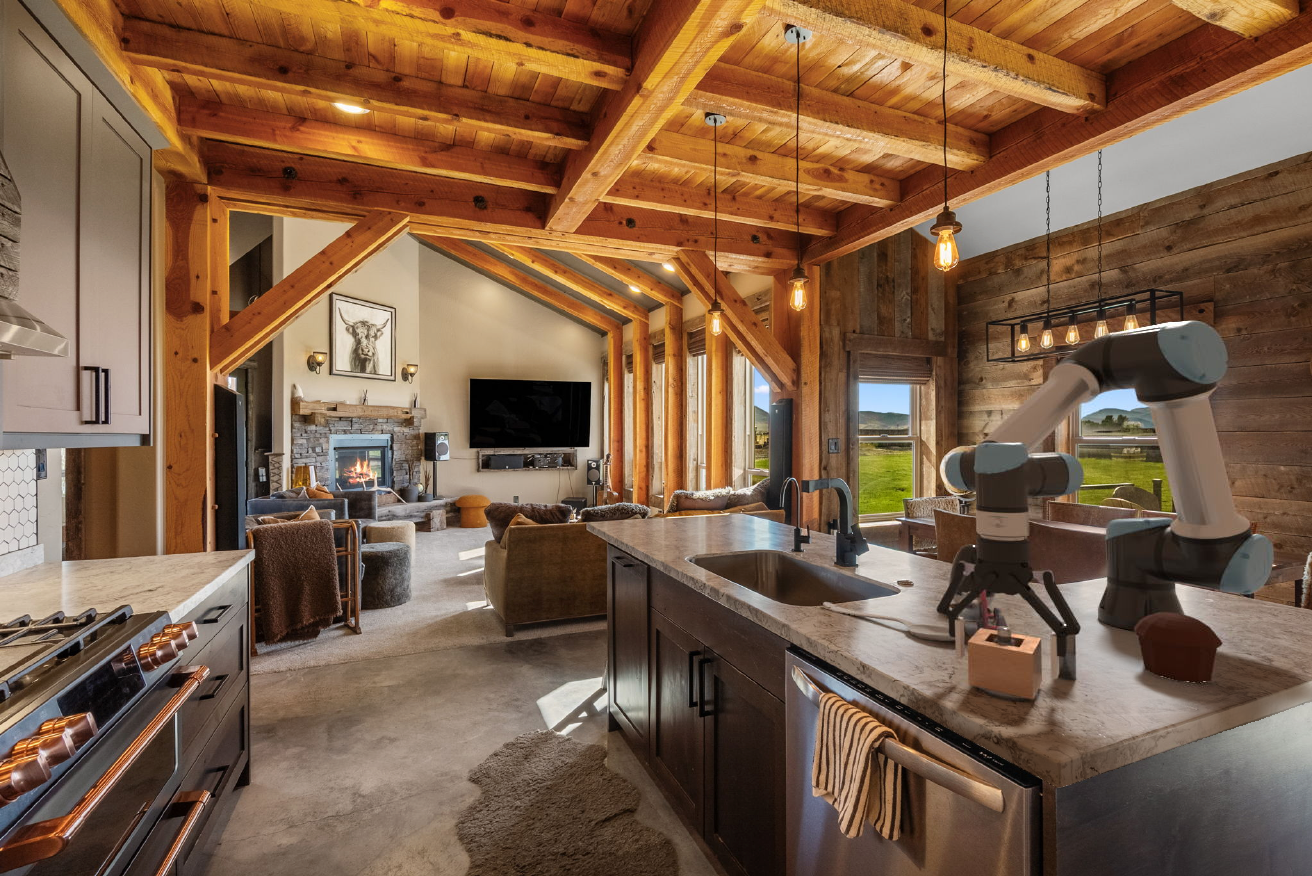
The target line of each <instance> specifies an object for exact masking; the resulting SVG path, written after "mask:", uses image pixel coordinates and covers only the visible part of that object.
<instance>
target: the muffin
mask: <svg viewBox="0 0 1312 876" xmlns="http://www.w3.org/2000/svg"><path fill="white" fill-rule="evenodd" d="M1133 631H1134V632H1135V634H1136V636H1137V638H1138V644H1139V647H1140V653H1141V656H1142V657H1141V658H1142V663H1143V667H1144V670H1145V671H1147V672H1150V673H1152V675H1155V676H1156V675H1157V676H1156V677H1160V676H1163V677H1162V678H1164V677H1166V678H1165V679H1168V678H1170V679H1169V680H1171V679H1173V680H1172V681H1175V680H1177V681H1176V682H1181V681H1189V682H1188V683H1191V682H1195V683H1194V684H1201V683H1200V682H1203V681H1212V677H1213V671H1214V668H1215V667H1214V665H1215V661H1216V655H1217V649H1218V648H1220V647H1221V646H1223V645H1224V644H1223V642H1222V640H1221V638H1220V637H1219V636H1218V634H1216V632H1215V631H1214V630H1213V629H1212V628H1211V627H1210V626H1209V625H1207V624H1206V623H1204V622H1203V621H1201V620H1199V619H1197V618H1195V617H1193V616H1190V615H1186V614H1185V615H1183V614H1178V613H1171V612H1158V613H1155V614H1152V615H1148V616H1146V617H1144V618H1142V619H1141V620H1140V621H1139V622H1138V623H1137V624H1136V626H1135V627H1134V630H1133ZM1203 683H1204V682H1203Z"/></svg>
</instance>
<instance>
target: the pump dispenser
mask: <svg viewBox="0 0 1312 876" xmlns="http://www.w3.org/2000/svg"><path fill="white" fill-rule="evenodd" d="M962 560H964V561H966V562H967V563H970V564H975V565H976V563H977V544H972V543H971V544H964V545H962V546H961V547H960V549H959V550H958V551H957V553H956V554H955V557H954V558H953V562H952V564H951V568H950V572H949V578H948V586H949V585H950V583H951V582H952V580H953V578H954V576H955V572H956V564H957V563H958V562H960V561H962ZM980 582H981V580H980V579H979V577H978V576H977V575H976V574H975V572H974V571H971V573H970V574H969V575H968V576H965V578H964V580H963V582H962V584H961V585H960V587H959V589H958V591H957V593H956V594H955V596H954V598H953V600H952V601H954V603H955V604H956V605H957V604H958V602H959V601H960V600H961V597H962V592H964V593H968V592H971V591H972V590H973V589H974V588H975V587H976V586H977V585H978V584H979V583H980ZM985 590H986V600H987V608H988V607H990V606H991V604H992V603H993V601H994V598H995V596H996V594H997V593H992V592H991V591H989V590H988V589H987V588H986V589H985ZM974 600H979V596H978V597H977V598H976V599H974Z"/></svg>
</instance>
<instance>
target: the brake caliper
mask: <svg viewBox="0 0 1312 876" xmlns="http://www.w3.org/2000/svg"><path fill="white" fill-rule="evenodd" d="M969 593H970V592H968V593H964V592H962V597H961V600H960V601H962V600H963V599H964V598H965V597H966V596H967V595H968V594H969ZM960 601H959V602H960ZM959 602H958V603H959ZM958 617H964V631H965V632H966V633H967V634H968V635H969V636H970V638H972V637H973V636H974V634H975V633H976V632H977V631H978V630H979V629H980V628H983V629H989V630H995V631H997V627H999V626H1004V627H1009V625H1008V624H1007V621H1006V618H1005V615H1004V614H1003V613H1002V610H1001V609H1000V607H998V606H996V607H995V606H994V607H993V611H992V614H989V613H988V607H987V600H986V590H984V591H983V592H982V593H981V594H980V595H979V600H973V601H972V602H971V603H970V604H969V605H968V606H967V607H966V608H965V609H964V610H963V611H962V612H961V613H960V614H959V615H958Z"/></svg>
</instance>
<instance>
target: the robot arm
mask: <svg viewBox="0 0 1312 876" xmlns="http://www.w3.org/2000/svg"><path fill="white" fill-rule="evenodd" d="M1228 357H1229V356H1228V352H1227V348H1226V345H1225V342H1224V341H1223V338H1222V337H1221V336H1220V334H1219V333H1218V332H1217V331H1216V330H1215V328H1214V327H1213V326H1210V325H1209V324H1207V323H1205V322H1203V321H1198V320H1187V321H1186V320H1185V321H1177V322H1176V321H1175V322H1173V321H1171V322H1170V321H1169V322H1165V323H1161V324H1157V325H1155V324H1154V325H1149V326H1145V327H1139V328H1134V329H1129V330H1128V329H1127V330H1124V331H1122V330H1121V331H1116V332H1115V331H1114V332H1110V333H1107V334H1104V335H1101V336H1099V337H1096V338H1094V339H1091V340H1090V341H1089V342H1087V343H1085V344H1083V345H1081V346H1080V347H1079V348H1076V349H1075V350H1074V351H1072V352H1071V353H1070V354H1068V355H1067V356H1065V357H1064V359H1062V360H1061V361H1060V362H1058V363H1057V364H1056V365H1055V366H1054V367H1053V368H1052V369H1051V370H1050V371H1049V373H1048V377H1047V381H1045V382H1044V383H1043V384H1042V385H1041V386H1040V387H1039V388H1038V389H1036V391H1035V392H1033V393H1032V394H1031V395H1030V396H1029V397H1028V398H1027V399H1026V400H1025V401H1024V402H1023V403H1022V404H1021V405H1020V406H1018V407H1017V408H1016V409H1015V410H1014V411H1013V412H1012V413H1011V414H1010V415H1009V416H1007V418H1006V419H1005V420H1003V421H1002V422H1001V423H1000V424H999V425H998V426H997V427H996V428H994V429H993V431H992V432H990V433H989V435H988V436H986V437H985V438H984V439H983V440H982V441H980V442H979V444H977V445H976V446H975V447H974V448H973V449H972V450H970V451H968V450H963V451H958V452H954V453H952V454H950V456H949V457H948V458H947V460H946V463H945V465H944V475H945V478H946V480H947V482H948V483H949V485H950V486H951V487H953V488H954V489H957V490H961V491H969V492H971V493H972V492H973V493H974V492H975V507H976V508H975V519H976V520H975V523H976V528H975V529H976V533H977V534H979V535H978V537H976V546H977V563H976V565H975V564H970V563H967V562H966V561H964V560H962V561H960V562H958V563H957V564H956V572H955V576H954V578H953V580H952V582H951V583H950V585H949V584H948V587H947V589H946V591H945V593H944V595H943V596H942V598H941V600H940V601H939V603H938V605H937V607H936V612H937V613H938V614H942V615H945V616H946V618H947V619H948V628H949V635H950V637H955V640H954V641H955V659H957V660H962V659H963V658H964V656H965V635H964V632H965V629H964V617H958V615H959V614H960V613H961V612H962V611H963V610H964V609H965V608H966V607H967V606H968V605H969V604H970V603H971V602H972V601H973V600H974V599H976V598H977V597H978V596H979V595H980V594H981V593H982V592H983V591H984V590H985V589H986V588H987V589H988V590H989V591H991V592H992V593H996V594H1004V595H1007V596H1011V597H1012V596H1013V597H1014V596H1017V595H1019V596H1020V597H1021V598H1022V599H1023V600H1024V601H1026V602H1027V603H1028V604H1029V605H1030V607H1031V608H1032V609H1033V610H1034V611H1035V612H1036V613H1037V614H1038V616H1039V617H1040V618H1041V619H1042V621H1044V622H1045V623H1046V625H1047V626H1048V627H1049V628H1050V629H1051V631H1052V632H1051V634H1050V635H1049V637H1050V638H1049V639H1050V640H1049V641H1050V644H1049V645H1050V646H1049V647H1050V678H1051V679H1054V680H1058V678H1059V677H1058V675H1059V656H1060V657H1065V655H1066V653H1067V636H1068V635H1075V636H1077V635H1079V634H1080V632H1081V628H1082V627H1081V625H1080V623H1079V621H1078V619H1077V618H1076V616H1075V614H1074V612H1073V611H1072V609H1071V608H1070V606H1069V604H1068V602H1067V601H1066V599H1065V597H1064V595H1063V594H1062V592H1061V590H1060V589H1059V587H1058V585H1057V584H1056V578H1055V571H1053V569H1050V568H1047V569H1045V570H1033V568H1032V566H1031V551H1030V550H1031V549H1030V545H1031V544H1030V540H1029V539H1028V538H1026V537H1028V536H1030V511H1029V499H1037V498H1051V497H1052V498H1053V497H1054V498H1060V497H1062V496H1063V497H1064V496H1068V495H1072V494H1074V493H1075V492H1076V491H1078V490H1079V489H1080V488H1081V487H1082V484H1083V482H1084V479H1085V478H1084V476H1085V474H1084V472H1085V471H1084V468H1083V465H1082V464H1081V462H1080V461H1079V460H1078V458H1076V457H1075V456H1073V455H1072V454H1070V453H1066V452H1058V451H1054V452H1053V451H1049V452H1033V451H1034V450H1035V449H1036V448H1037V447H1038V446H1039V445H1040V444H1041V443H1042V442H1044V441H1045V439H1046V438H1048V436H1049V435H1050V434H1052V433H1053V432H1054V431H1055V430H1056V429H1057V428H1058V427H1059V426H1060V425H1061V424H1062V423H1063V422H1064V421H1065V420H1066V419H1067V418H1068V417H1069V416H1070V415H1071V414H1072V413H1073V412H1074V411H1076V409H1078V407H1079V406H1080V405H1082V404H1088V403H1089V402H1092V401H1093V400H1095V399H1096V398H1097V397H1098V396H1099V395H1101V394H1104V393H1106V392H1111V391H1117V390H1131V389H1132V390H1133V389H1134V392H1135V395H1136V400H1137V402H1139V403H1140V404H1143V405H1144V406H1147V407H1148V408H1149V411H1150V414H1151V415H1150V416H1151V418H1152V423H1153V427H1154V430H1155V435H1156V438H1157V442H1158V447H1159V450H1160V454H1161V459H1162V461H1163V466H1164V470H1165V473H1166V477H1167V482H1168V485H1169V491H1170V493H1171V498H1172V500H1173V504H1174V509H1175V513H1176V516H1177V517H1176V518H1175V519H1173V518H1171V517H1133V518H1132V517H1131V518H1118V519H1113V520H1110V521H1109V522H1107V524H1106V527H1105V529H1106V530H1105V537H1104V540H1105V555H1106V558H1105V559H1106V586H1105V589H1104V591H1103V594H1102V597H1101V600H1100V602H1099V604H1098V607H1097V618H1098V620H1099V621H1101V622H1103V623H1104V624H1108V625H1110V626H1113V627H1116V628H1121V629H1124V630H1130V631H1134V627H1135V626H1136V624H1137V623H1138V622H1139V621H1140V620H1141V619H1142V618H1144V617H1146V616H1148V615H1152V614H1155V613H1158V612H1171V613H1178V614H1183V615H1186V614H1185V611H1184V609H1183V607H1182V604H1181V602H1180V600H1179V598H1178V595H1177V592H1176V583H1177V584H1181V585H1182V584H1183V585H1188V586H1194V587H1198V588H1206V589H1211V590H1215V591H1220V592H1222V593H1233V594H1239V595H1251V594H1254V593H1256V592H1258V591H1259V590H1261V589H1262V588H1263V587H1264V585H1265V584H1266V583H1267V581H1268V579H1269V577H1270V575H1271V572H1272V570H1273V566H1274V558H1275V557H1274V556H1275V553H1274V546H1273V543H1272V541H1271V540H1270V539H1269V538H1268V537H1267V536H1265V535H1262V534H1260V533H1255V534H1254V533H1253V530H1252V527H1251V523H1250V521H1249V519H1248V518H1247V517H1245V516H1243V515H1240V514H1239V513H1237V510H1236V506H1235V502H1234V499H1233V493H1232V489H1231V486H1230V482H1229V477H1228V473H1227V470H1226V465H1225V462H1224V457H1223V453H1222V449H1221V444H1220V441H1219V436H1218V431H1217V428H1216V424H1215V419H1214V414H1213V412H1212V407H1211V403H1210V400H1209V397H1210V396H1211V395H1212V393H1213V392H1214V391H1215V390H1217V388H1218V385H1217V381H1219V380H1221V379H1223V377H1224V375H1225V374H1226V372H1227V370H1228V364H1227V362H1228V361H1229V360H1228ZM971 571H974V572H975V574H976V575H977V576H978V577H979V579H980V580H981V582H980V583H979V584H978V585H977V586H976V587H975V588H974V589H973V590H972V591H971V592H970V593H969V594H968V595H967V596H966V597H965V598H964V599H963V600H962V601H960V602H959V603H958V604H957V603H956V605H955V606H954V607H953V608H952V607H951V606H950V605H951V603H952V601H954V600H953V598H954V596H955V594H956V593H957V591H958V589H959V587H960V585H961V584H962V582H963V580H964V578H965V576H968V575H969V574H970V573H971ZM1033 579H1036V580H1037V581H1038V583H1039V584H1040V585H1042V586H1044V588H1045V591H1046V592H1047V594H1048V596H1049V598H1050V599H1051V601H1052V603H1053V605H1054V607H1055V608H1056V611H1057V612H1058V614H1059V615H1060V617H1061V618H1062V621H1061V620H1060V619H1059V618H1058V617H1057V616H1056V615H1055V613H1053V611H1052V610H1051V609H1050V608H1049V606H1047V605H1046V604H1045V602H1043V600H1042V599H1041V598H1040V597H1039V596H1038V595H1037V593H1036V592H1035V591H1034V588H1032V587H1031V586H1030V585H1029V583H1030V582H1032V581H1033ZM1062 622H1065V624H1066V625H1063V624H1062Z"/></svg>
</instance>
